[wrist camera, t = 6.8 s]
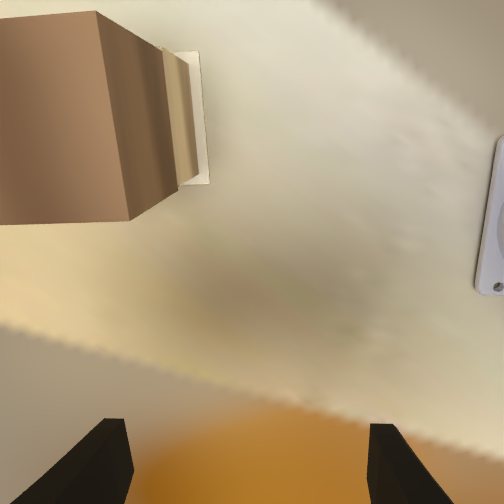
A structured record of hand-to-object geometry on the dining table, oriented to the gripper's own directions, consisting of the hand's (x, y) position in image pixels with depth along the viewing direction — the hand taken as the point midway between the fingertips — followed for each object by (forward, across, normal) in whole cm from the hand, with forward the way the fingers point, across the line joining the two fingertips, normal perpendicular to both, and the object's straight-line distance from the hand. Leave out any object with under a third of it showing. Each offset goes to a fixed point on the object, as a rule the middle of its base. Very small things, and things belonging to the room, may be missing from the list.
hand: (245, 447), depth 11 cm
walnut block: (+6, +6, -9) cm, 12 cm away
